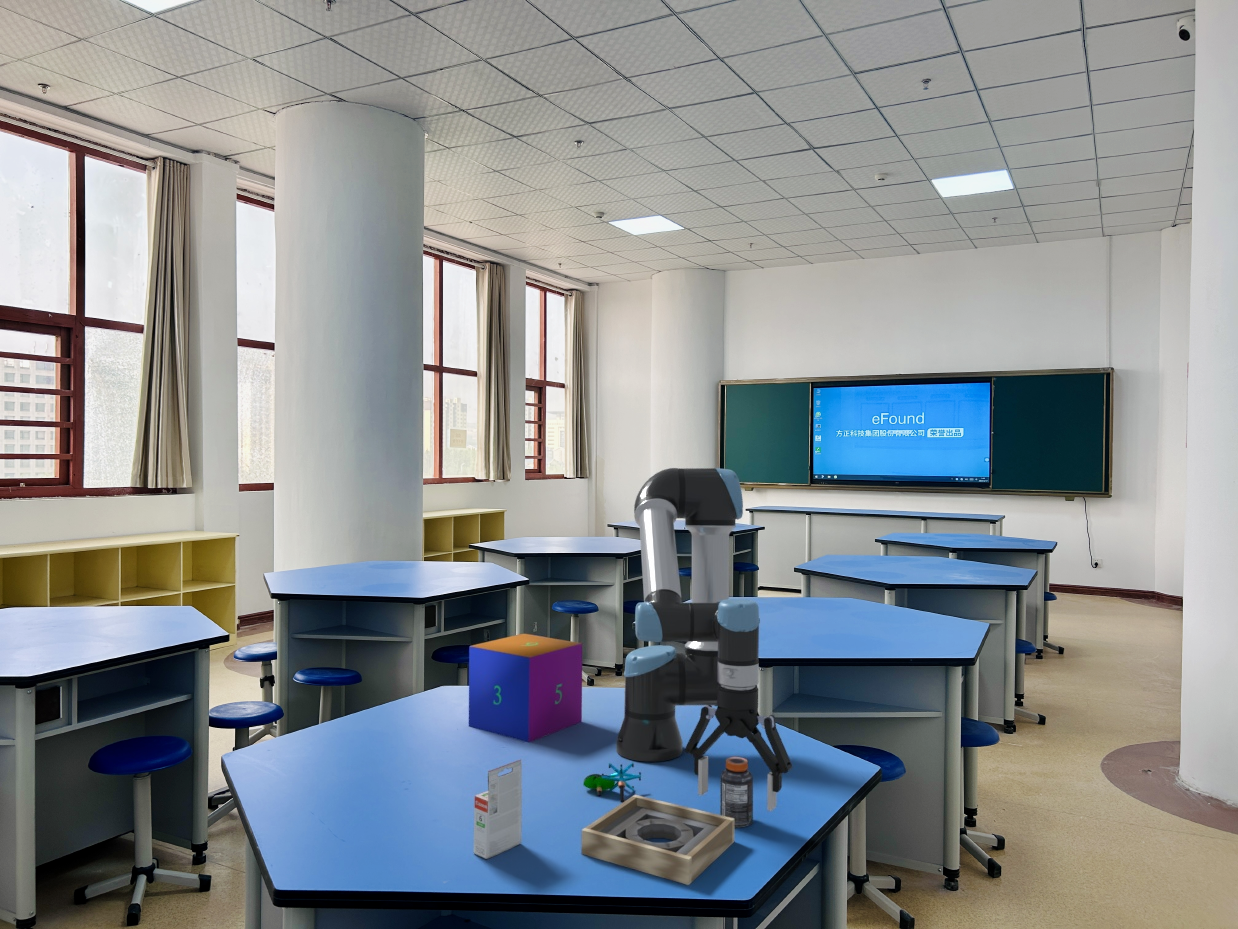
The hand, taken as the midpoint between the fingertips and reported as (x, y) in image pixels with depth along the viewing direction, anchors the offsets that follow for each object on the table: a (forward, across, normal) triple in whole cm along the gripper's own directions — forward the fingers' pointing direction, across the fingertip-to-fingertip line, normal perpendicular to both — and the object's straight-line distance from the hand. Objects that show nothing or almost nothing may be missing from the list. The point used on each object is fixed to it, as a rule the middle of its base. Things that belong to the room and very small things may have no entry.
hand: (736, 800), depth 156 cm
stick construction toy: (+4, -26, -1) cm, 26 cm away
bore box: (+4, -7, -17) cm, 19 cm away
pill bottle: (+4, 0, 0) cm, 4 cm away
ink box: (+4, -30, -32) cm, 44 cm away
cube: (+4, -68, +26) cm, 73 cm away
